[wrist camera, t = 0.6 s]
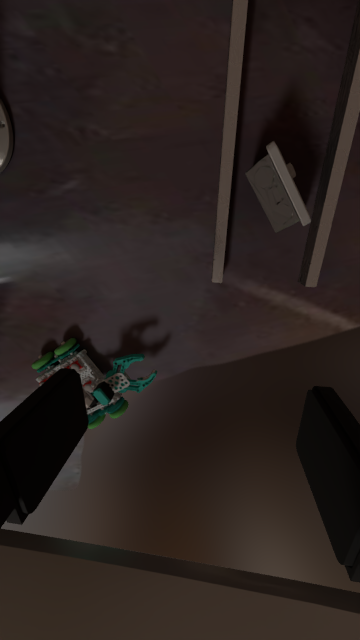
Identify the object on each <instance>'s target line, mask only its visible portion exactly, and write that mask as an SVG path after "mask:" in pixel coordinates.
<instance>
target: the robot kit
mask: <svg viewBox="0 0 360 640" xmlns="http://www.w3.org/2000/svg"><path fill="white" fill-rule="evenodd" d="M75 343H76V339H75V338H71V339H69V340H67V341H66V342H64V341H63V342H61V345H60V346H59V347H58V348H56V349H55V356H54V353H53V352H48V353H46V354H45V355H43V356H42V355H40V356H39V357H38V358H39V359H38V360H36V361H35V362H34V363H33V364H32V368H34V369H37V368H39V367H40V368H39V369H38V370H37V372H38V373H39V372H41V371H43V370H44V369H46V368H47V367H48V368H47V369H46V372H45V373H43V374H41V375H40V376H39V377H38V378H37V379H36V380H37V381H38V382H39V384H40V386H41V385H42V384H43V383H44V382H45V381H46V380H48V379H49V378H50V377H51V376H52V375H53V374H54V373H55V372H57V371H58V370H59V369H60V368H68V369H75V370H76V371H78V372H77V373H79V374H81V375H80V377H81V383H82V382H83V383H82V384H83V385H82V388H83V393H84V399H85V404H86V409H87V414H88V420H89V424H88V428H90V429H93V428H95V427H97V426H98V425H99V424H100V423H101V422H102V421H103V420H104V418H105V415H106V413H107V412H108V413H109V414H110V417H111V418H117V417H119V416H121V415H122V414H123V413H124V412H125V411H126V409H127V407H128V402H127V401H126V400H124V398H123V397H121V395H122V393H124V392H126V391H127V390H132V391H137V392H138V393H140V392H141V391H142V390H143V389H144V388H145V387H146V386H148V385H149V384H150V383H151V382H152V381H153V379H154V378H155V376H156V374H157V371H156V370H153V371H152V373H151V374H150V375H149V376H146V377H139V378H138V380H131V379H130V377H129V376H128V375H127V374H126V372H125V369H126V368H128V367H129V365H130V364H131V363H132V362H135V361H142V360H144V357H145V356H144V354H131V355H127V356H123V357H119V358H116V359H115V361H114V362H113V364H114V367H113V371H112V370H110V371H108V373H107V375H106V377H105V376H104V375H103V374H102V373H101V371H100V370H99V369H98V368H97V367H96V366H95V364H94V363H93V362H92V361H91V359H90V358H89V357H88V356H87V355H86V353H87V351H86V350H85V349H84V350H82V351H80V352H79V353H78V352H74V353H73V351H74V350H76V349H77V348H78V347H79V346H80V345H79V344H76V345H75ZM73 345H74V346H73ZM72 346H73V347H72ZM60 354H61V355H60ZM69 354H71V355H69ZM67 355H69V356H68V357H66V356H67ZM81 355H82V356H81ZM53 356H54V357H55V358H53ZM64 357H66V358H64ZM52 358H53V359H52ZM63 358H64V359H63ZM84 358H85V359H84ZM50 359H51V360H50ZM61 359H63V360H61ZM49 360H50V361H49ZM86 360H87V362H86ZM56 361H59V362H60V364H58V365H56V366H55V365H52V366H50V365H51V364H52V363H55V362H56ZM69 362H70V363H69ZM84 363H85V364H84ZM89 364H90V365H89ZM119 364H122V367H121V370H118V371H117V368H118V365H119ZM42 365H43V366H42ZM41 366H42V367H41ZM86 366H87V367H86ZM91 367H92V368H91ZM92 370H93V371H92ZM94 370H95V371H94ZM86 371H87V372H86ZM83 373H84V374H83ZM96 373H97V374H96ZM88 374H90V375H88ZM85 375H86V376H85ZM126 375H127V376H126ZM88 376H89V377H88ZM99 376H100V377H99ZM82 377H83V378H82ZM91 377H92V378H91ZM129 384H130V385H129ZM132 385H138V386H132ZM91 392H92V393H91ZM118 392H119V393H120V394H119V393H118ZM121 392H122V393H121ZM114 394H115V395H114ZM98 402H99V403H98ZM87 407H90V408H87Z"/></svg>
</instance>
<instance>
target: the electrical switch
mask: <svg viewBox="0 0 360 640" xmlns="http://www.w3.org/2000/svg"><path fill="white" fill-rule="evenodd" d="M266 148H267V151H268V153H269V154H268V155H267V156H265V157H264V158H263V159H261V160H260V161H259V162H257V163H256V164H255V165H254V166H253V167H252V168H251V169H250V170H248V171H247V172H246V173H245V174H246V176H247V178H248V180H249V182H250V184H251V186H252V188H253V190H254V192H255V194H256V196H257V198H258V200H259V201H260V203H261V205H262V207H263V209H264V211H265V213H266V215H267V217H268V219H269V221H270V223H271V225H272V227H273V229H274V231H275V233H278V232H279V231H281V230H283V229H284V228H287V227H289V226H291V225H293V224H295V223H296V222H298V221H300V220H301V222H302V224H303V226H305V225H307V224H308V223H310V222H311V219H310V216H309V213H308V211H307V209H306V206H305V204H304V202H303V200H302V197H301V195H300V193H299V191H298V189H297V187H296V185H295V182H294V180H293V178H294V177H296V173H295V170H294V168H293V165H292V164H291V163H289V164H287V165H286V163H285V161H284V159H283V157H282V154H281V152H280V150H279V148H278V146H277V145H276V144H275V142H274V141H272V142H271V143H270V144H268V145H267V146H266Z"/></svg>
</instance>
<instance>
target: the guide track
mask: <svg viewBox="0 0 360 640" xmlns="http://www.w3.org/2000/svg"><path fill="white" fill-rule="evenodd" d="M247 7H248V0H232V11H231V24H230V38H229V51H228V64H227V78H226V91H225V105H224V118H223V132H222V145H221V158H220V172H219V185H218V199H217V212H216V226H215V239H214V252H213V266H212V282H218V283H222V278H223V267H224V256H225V245H226V235H227V224H228V213H229V202H230V191H231V180H232V169H233V159H234V148H235V137H236V126H237V115H238V104H239V93H240V83H241V72H242V61H243V50H244V39H245V28H246V17H247ZM359 111H360V0H359V1H358V6H357V10H356V15H355V20H354V24H353V29H352V33H351V38H350V43H349V47H348V52H347V57H346V61H345V66H344V71H343V75H342V80H341V84H340V89H339V94H338V98H337V103H336V108H335V112H334V117H333V122H332V126H331V131H330V135H329V140H328V145H327V149H326V154H325V159H324V163H323V168H322V173H321V177H320V182H319V186H318V191H317V196H316V200H315V205H314V210H313V214H312V219H311V224H310V228H309V233H308V238H307V242H306V247H305V251H304V256H303V261H302V265H301V270H300V275H299V279H298V282H299V283H300V284H302V285H304V286H305V287H316V285H317V281H318V277H319V273H320V269H321V265H322V261H323V257H324V253H325V249H326V245H327V241H328V237H329V233H330V229H331V225H332V221H333V217H334V213H335V209H336V204H337V200H338V196H339V192H340V188H341V184H342V180H343V176H344V172H345V168H346V164H347V160H348V156H349V152H350V148H351V144H352V140H353V136H354V132H355V128H356V124H357V120H358V115H359Z"/></svg>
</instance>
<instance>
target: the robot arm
mask: <svg viewBox="0 0 360 640" xmlns="http://www.w3.org/2000/svg"><path fill="white" fill-rule="evenodd" d="M12 150H13V131H12V125H11V121H10V118H9V115H8V112H7V110H6V108H5V106H4V104H3V102H2V100H1V99H0V173H1V172H2V171H3V170H4V169H5V168H6V166H7V165H8V163H9V161H10V158H11V155H12ZM88 424H89V420H88V414H87V409H86V404H85V399H84V393H83V388H82V383H81V377H80V374H79V373H77V371H76V370H75V369H68V368H60V369H59V370H58V371H57V372H55V373H54V374H53V375H52V376H51V377H50V378H49V379H48V380H46V381H45V382H44V383H43V384H42V385H41V386H40V387H39V388H38V389H36V390H35V391H34V392H33V393H32V394H31V395H30V396H29V397H27V398H26V399H25V400H24V401H23V402H22V403H21V404H20V405H19V406H17V407H16V408H15V409H14V410H13V411H12V412H11V413H10V414H8V415H7V416H6V417H5V418H4V419H3V420H2V421H1V422H0V640H360V593H356V592H351V591H347V590H342V589H336V588H332V587H327V586H322V585H317V584H312V583H307V582H302V581H297V580H291V579H286V578H281V577H275V576H270V575H264V574H259V573H253V572H247V571H242V570H237V569H231V568H225V567H220V566H215V565H209V564H204V563H198V562H192V561H187V560H181V559H176V558H170V557H164V556H158V555H152V554H147V553H141V552H136V551H130V550H124V549H118V548H112V547H107V546H101V545H95V544H89V543H84V542H77V541H72V540H66V539H60V538H54V537H48V536H41V535H36V534H30V533H24V532H18V531H12V530H5V529H1V527H2V525H3V524H4V522H5V521H6V520H7V522H9V523H15V524H21V525H22V524H23V522H24V521H25V519H26V518H27V516H28V515H29V514H30V513H32V512H33V511H34V510H35V509H36V508H37V506H38V505H39V503H40V502H41V500H42V499H43V497H44V496H45V494H46V492H47V491H48V489H49V488H50V486H51V485H52V483H53V481H54V480H55V478H56V477H57V475H58V474H59V472H60V471H61V469H62V467H63V466H64V464H65V463H66V461H67V460H68V458H69V457H70V455H71V453H72V452H73V450H74V449H75V447H76V446H77V444H78V443H79V441H80V439H81V438H82V436H83V435H84V433H85V432H86V430H87V428H88ZM296 449H297V452H298V456H299V458H300V461H301V464H302V466H303V469H304V472H305V474H306V477H307V480H308V483H309V485H310V488H311V491H312V493H313V496H314V499H315V501H316V504H317V507H318V510H319V512H320V515H321V517H322V520H323V523H324V526H325V528H326V531H327V534H328V536H329V539H330V542H331V545H332V547H333V550H334V553H335V555H336V558H337V560H338V562H339V563H340V564H341V565H345V567H346V570H347V572H348V575H349V578H350V580H351V581H355V582H360V424H359V423H358V422H357V420H356V419H355V417H354V416H353V415H352V413H351V412H350V411H349V409H348V408H347V407H346V405H345V404H344V403H343V401H342V400H341V399H340V397H339V396H338V395H337V393H336V392H335V391H334V389H332V388H331V387H319V386H314V387H313V389H312V390H308V392H307V396H306V400H305V405H304V410H303V414H302V418H301V423H300V427H299V432H298V436H297V441H296Z"/></svg>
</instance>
